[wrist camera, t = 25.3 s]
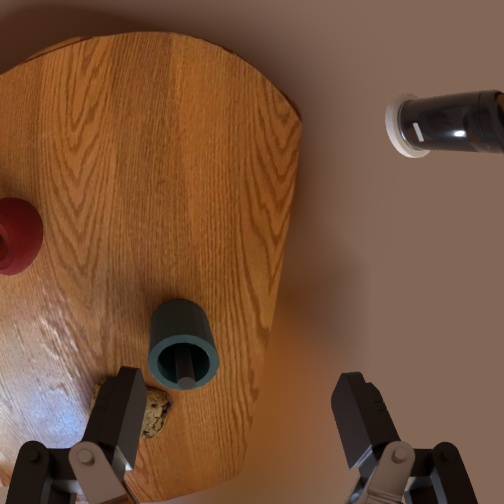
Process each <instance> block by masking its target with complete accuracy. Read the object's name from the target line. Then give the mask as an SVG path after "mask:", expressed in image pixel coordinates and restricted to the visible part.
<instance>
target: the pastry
mask: <svg viewBox="0 0 504 504" xmlns="http://www.w3.org/2000/svg"><path fill="white" fill-rule="evenodd" d="M108 378H109V377H104V378H102V379H103V380H102V381H101V382H100V383H99V385H98V384H97V383H96V385H95V387H94V388H93V390H92V395H91V397H92V398H91V407H90V411H89V416H90V415H91V412H92V409H93V407H94V403H95V401H96V398H97V395H98V392H99V390H100V387H101V385H102V384H103V383H104V382H105V381H106V380H107V379H108ZM146 391H147V405H146V409H145V414H144V418H143V423H142V428H141V433H140V438H143V439H150V438H153V437H156V436H157V435H158V434H159V432H160V431H161V429H162V428H163V426H164V424H165V421H166V418H167V415H168V413H169V412H170V410H171V408H172V407H173V400H172V398H171V397H170V395H169V394H167V393H166V392H162V391H159V390H155V389H149V388H147V387H146Z"/></svg>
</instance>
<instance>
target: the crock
mask: <svg viewBox="0 0 504 504" xmlns="http://www.w3.org/2000/svg"><path fill="white" fill-rule="evenodd" d="M182 342H186V343H189V347H190V354H191V360H192V366H193V372H194V378H195V386H194V387H193V388H192V389H196V388H199V387H201V386H203V385H205V384H206V383H208V382H209V381H211V379H212V378H213V377H214V376H215V375H216V372H217V370H218V367H219V357H218V353H217V350H216V347H215V343H214V340H213V336H212V333H211V329H210V326H209V322H208V320H207V317H206V314H205V312H204V311H203V310H202V308H201V307H199V306H198V305H197V304H195V303H193V302H191V301H188V300H184V299H175V300H170V301H167V302H165V303H163V304H162V305H160V306H159V307H158V308H157V309H156V310H155V312H154V314H153V316H152V320H151V326H150V338H149V353H148V365H149V370H150V372H151V374H152V375H153V377H154V378H155V379H156V380H157V381H158V382H159V383H161V384H162V385H164V386H166V387H169V388H171V389H176V390H183V389H181V388H180V387H179V386H178V384H177V374H176V362H175V348H174V344H175V343H182ZM192 389H189V390H192Z"/></svg>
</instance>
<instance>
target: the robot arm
mask: <svg viewBox="0 0 504 504" xmlns="http://www.w3.org/2000/svg"><path fill="white" fill-rule="evenodd" d="M397 123H398V129H399V132H400V135H401V137H402V139H403V140H404V142H405V143H406V144H407V145H408V146H409V147H410V148H411V149H413V150H417V151H422V150H442V151H466V152H483V153H496V154H503V155H504V93H503V92H502V91H499V90H482V91H472V92H464V93H456V94H448V95H441V96H434V97H427V98H421V99H415V100H407V101H405V102H403V103H402V104H401V106H400V107H399V110H398V114H397ZM146 405H147V391H146V387H145V383H144V380H143V376H142V372H141V369H140V368H133V367H126V366H121V368H120V370H119V373H118V376H117V378H113V377H109V378H108V379H107V380H106V381H105V382H104V383H103V384H102V385H101V387H100V390H99V392H98V395H97V398H96V401H95V403H94V407H93V409H92V412H91V415H90V418H89V421H88V424H87V427H86V430H85V433H84V436H83V438H82V440H81V441H80V442H79V443H76V444H75V445H74V446H73V447H71V448H65V449H54V448H46V447H45V446H44V445H43V444H42V443H40V442H38V441H28V442H26V443H24V444H23V445H22V446H21V448H20V450H19V454H18V457H17V460H16V463H15V467H14V471H13V474H12V478H11V482H10V486H9V490H8V494H7V499H6V504H75V501H76V495H77V493H84V495H85V497H86V499H87V501H88V503H89V504H140V503H139V502H138V500H137V499H136V497H135V496H134V494H133V493H132V491H131V490H130V488H129V486H128V485H127V483H126V481H125V480H124V473H125V469H127V470H132V471H133V470H134V464H135V459H136V453H137V448H138V443H139V438H140V433H141V428H142V423H143V418H144V414H145V409H146ZM331 407H332V411H333V414H334V417H335V421H336V424H337V428H338V431H339V435H340V438H341V442H342V445H343V449H344V452H345V456H346V459H347V463H348V466H349V470H355V469H359V472H360V475H359V476H358V478H357V480H356V482H355V484H354V486H353V488H352V490H351V491H350V493H349V495H348V497H347V499H346V501H345V503H344V504H403V503H402V502H401V499H402V496H403V494H404V498H405V502H406V504H478V502H477V499H476V496H475V493H474V490H473V488H472V485H471V482H470V479H469V477H468V474H467V472H466V469H465V466H464V464H463V461H462V459H461V456H460V454H459V451H458V449H457V448H456V447H455V446H454V445H453V444H451V443H449V442H441V443H439V444H438V445H436V446H435V447H434V448H433V449H414V448H412V447H411V446H410V445H409V444H407V443H406V442H402V441H401V440H400V438H399V436H398V433H397V431H396V429H395V426H394V424H393V422H392V419H391V417H390V414H389V412H388V411H387V407H386V405H385V403H384V402H383V398H382V396H381V394H380V392H379V390H378V389H377V388H376V387H375V386H374V385H373V384H372V383H371V382H370V383H366V382H365V380H364V378H363V375H362V374H361V373H360V372H350V373H342V374H341V376H340V378H339V380H338V382H337V385H336V387H335V390H334V391H333V394H332V397H331Z"/></svg>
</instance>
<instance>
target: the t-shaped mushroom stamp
mask: <svg viewBox="0 0 504 504" xmlns="http://www.w3.org/2000/svg"><path fill="white" fill-rule="evenodd" d="M174 348H175V362H176V374H177V384H178V386H179V387H180V388H181V389H183V390H189V389H192V388H193V387H194V386H195V378H194V372H193V366H192V360H191V354H190V347H189V343H186V342H182V343H175V344H174Z"/></svg>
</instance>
